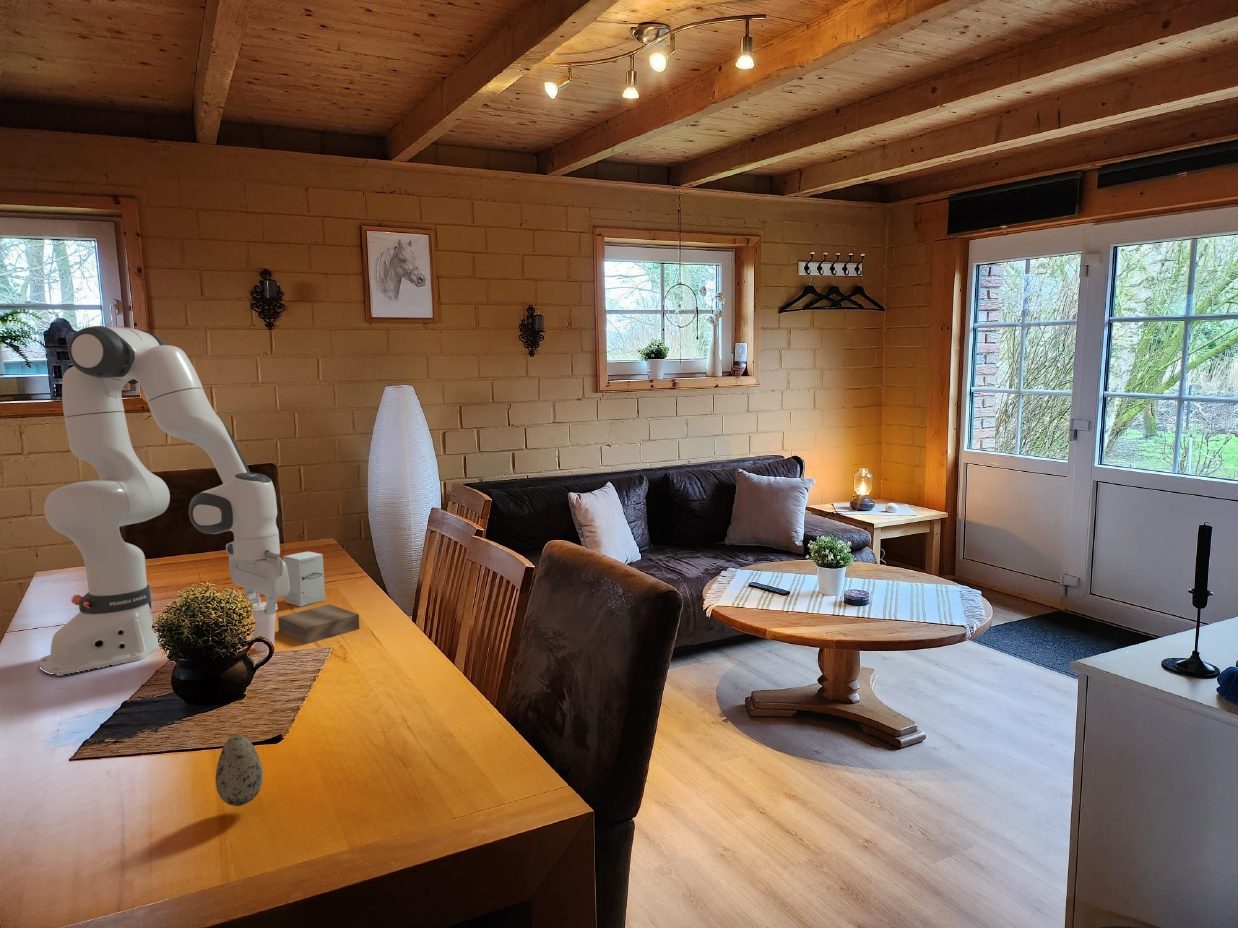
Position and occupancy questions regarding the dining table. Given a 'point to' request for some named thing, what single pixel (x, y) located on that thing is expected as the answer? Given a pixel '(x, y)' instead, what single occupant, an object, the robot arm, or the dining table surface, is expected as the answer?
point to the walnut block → (318, 623)
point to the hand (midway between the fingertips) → (261, 610)
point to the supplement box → (305, 578)
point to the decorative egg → (238, 772)
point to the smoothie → (263, 624)
